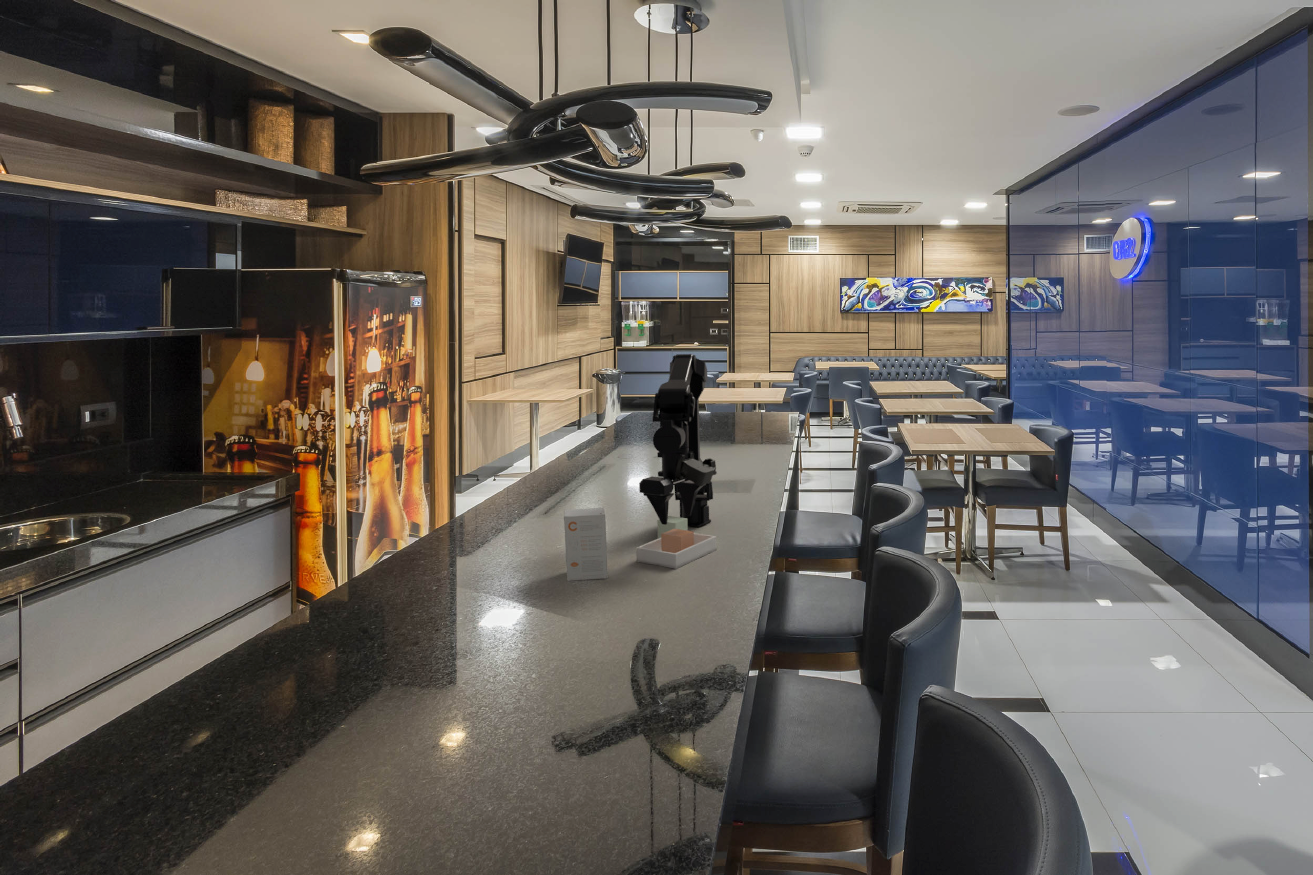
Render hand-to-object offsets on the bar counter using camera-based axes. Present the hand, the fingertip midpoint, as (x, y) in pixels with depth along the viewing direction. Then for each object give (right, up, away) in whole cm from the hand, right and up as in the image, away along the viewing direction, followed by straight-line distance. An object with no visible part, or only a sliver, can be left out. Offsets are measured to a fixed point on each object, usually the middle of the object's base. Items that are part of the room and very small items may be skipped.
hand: (676, 519), depth 173 cm
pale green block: (0, -6, +16) cm, 17 cm away
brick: (0, -7, +1) cm, 7 cm away
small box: (-18, -10, -11) cm, 23 cm away
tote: (0, -8, +1) cm, 8 cm away
